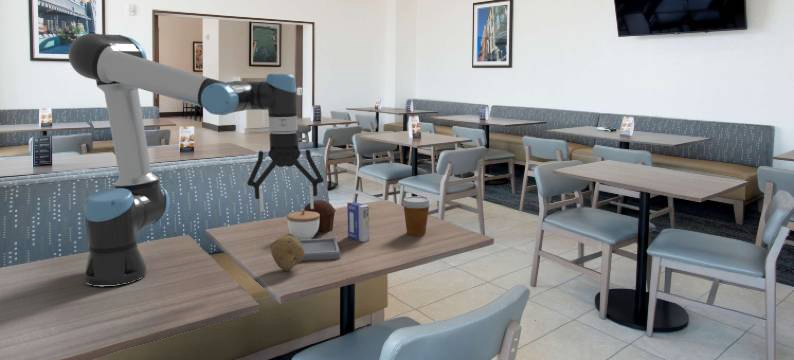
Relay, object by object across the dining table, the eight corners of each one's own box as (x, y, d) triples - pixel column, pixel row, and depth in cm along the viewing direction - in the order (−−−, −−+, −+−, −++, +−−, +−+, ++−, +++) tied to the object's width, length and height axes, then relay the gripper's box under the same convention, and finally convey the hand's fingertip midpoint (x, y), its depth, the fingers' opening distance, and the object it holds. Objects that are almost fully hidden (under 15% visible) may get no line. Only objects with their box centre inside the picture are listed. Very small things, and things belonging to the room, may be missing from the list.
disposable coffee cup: (419, 239, 194) (419, 203, 191) (396, 234, 199) (396, 199, 197) (435, 232, 201) (435, 198, 199) (412, 228, 207) (413, 194, 204)
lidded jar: (290, 243, 189) (289, 214, 187) (285, 234, 199) (284, 207, 197) (323, 240, 192) (322, 212, 190) (316, 232, 202) (316, 205, 200)
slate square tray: (292, 261, 172) (291, 254, 172) (291, 247, 185) (291, 240, 185) (339, 258, 175) (339, 251, 174) (335, 244, 188) (335, 237, 188)
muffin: (297, 228, 206) (295, 201, 204) (324, 222, 213) (322, 195, 210) (315, 236, 197) (313, 207, 195) (342, 229, 204) (341, 201, 201)
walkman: (347, 237, 196) (347, 202, 194) (354, 235, 198) (353, 200, 196) (362, 242, 191) (362, 206, 188) (369, 240, 192) (369, 204, 190)
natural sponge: (294, 262, 171) (293, 229, 169) (311, 270, 165) (310, 236, 163) (266, 269, 165) (265, 235, 163) (283, 278, 159) (281, 242, 157)
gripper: (234, 135, 152) (239, 214, 156) (331, 132, 156) (333, 209, 160) (236, 131, 159) (241, 208, 163) (329, 129, 163) (331, 203, 168)
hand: (287, 209), depth 162 cm, fingers open, 13 cm apart
